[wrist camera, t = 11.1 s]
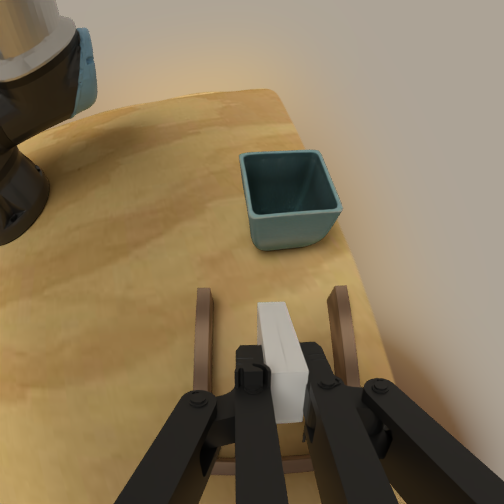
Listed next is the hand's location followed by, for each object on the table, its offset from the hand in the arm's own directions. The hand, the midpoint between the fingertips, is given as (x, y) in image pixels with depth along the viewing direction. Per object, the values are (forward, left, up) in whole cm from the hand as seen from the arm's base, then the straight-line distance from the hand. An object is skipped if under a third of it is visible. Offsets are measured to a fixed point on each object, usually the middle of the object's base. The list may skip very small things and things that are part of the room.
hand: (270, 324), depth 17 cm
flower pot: (-16, +3, -14) cm, 21 cm away
